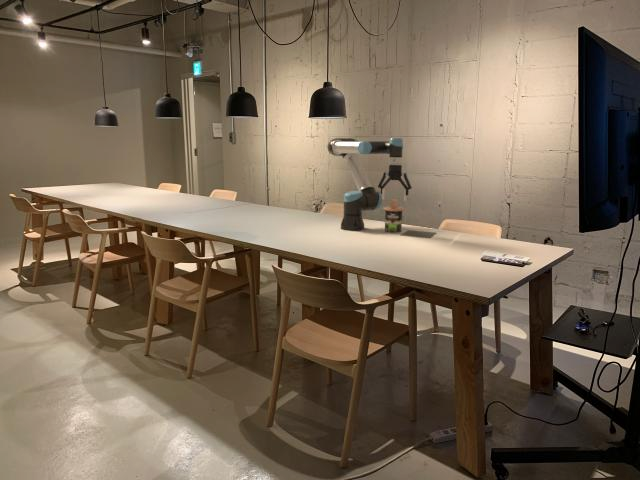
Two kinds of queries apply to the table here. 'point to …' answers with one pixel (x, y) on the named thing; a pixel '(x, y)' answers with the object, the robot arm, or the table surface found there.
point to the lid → (394, 206)
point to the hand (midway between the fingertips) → (394, 200)
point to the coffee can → (393, 221)
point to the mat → (418, 234)
